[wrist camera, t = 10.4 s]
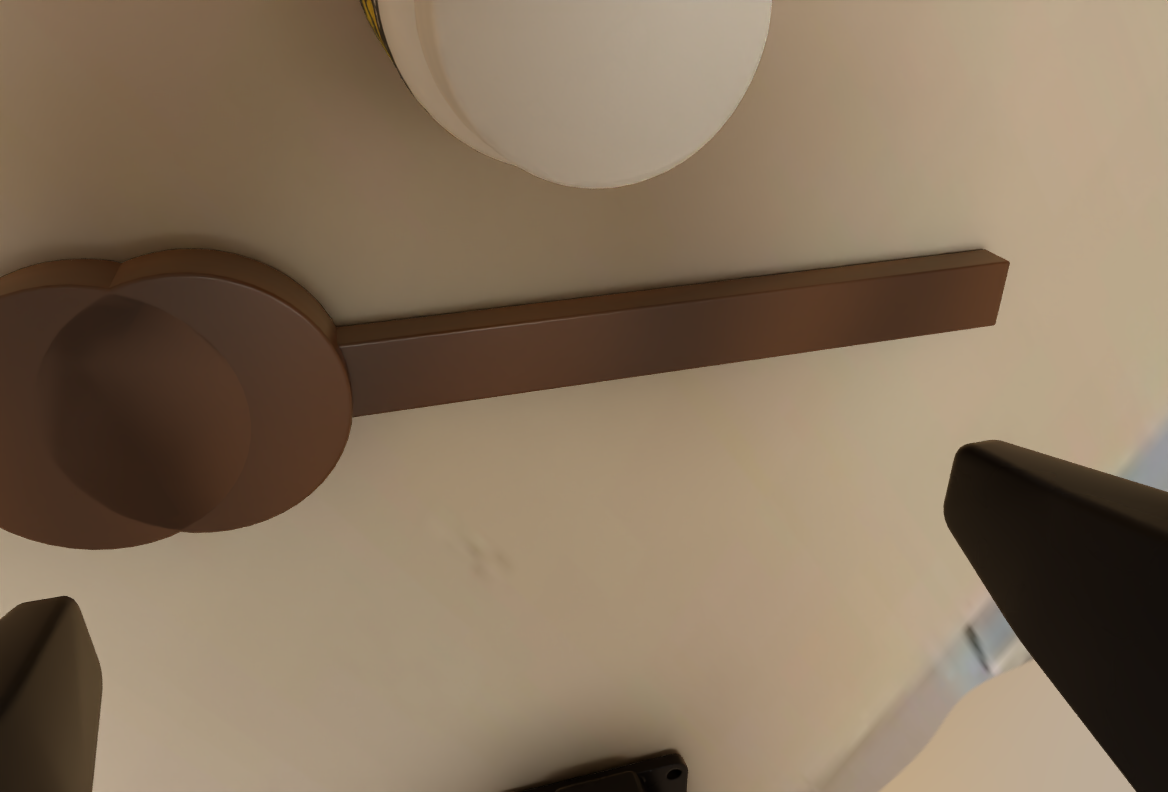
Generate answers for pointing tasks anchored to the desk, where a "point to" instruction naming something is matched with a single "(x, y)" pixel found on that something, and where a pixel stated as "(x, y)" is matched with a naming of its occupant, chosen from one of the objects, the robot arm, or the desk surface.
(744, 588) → the desk surface
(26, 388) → the wooden spoon
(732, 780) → the desk surface
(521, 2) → the supplement bottle
